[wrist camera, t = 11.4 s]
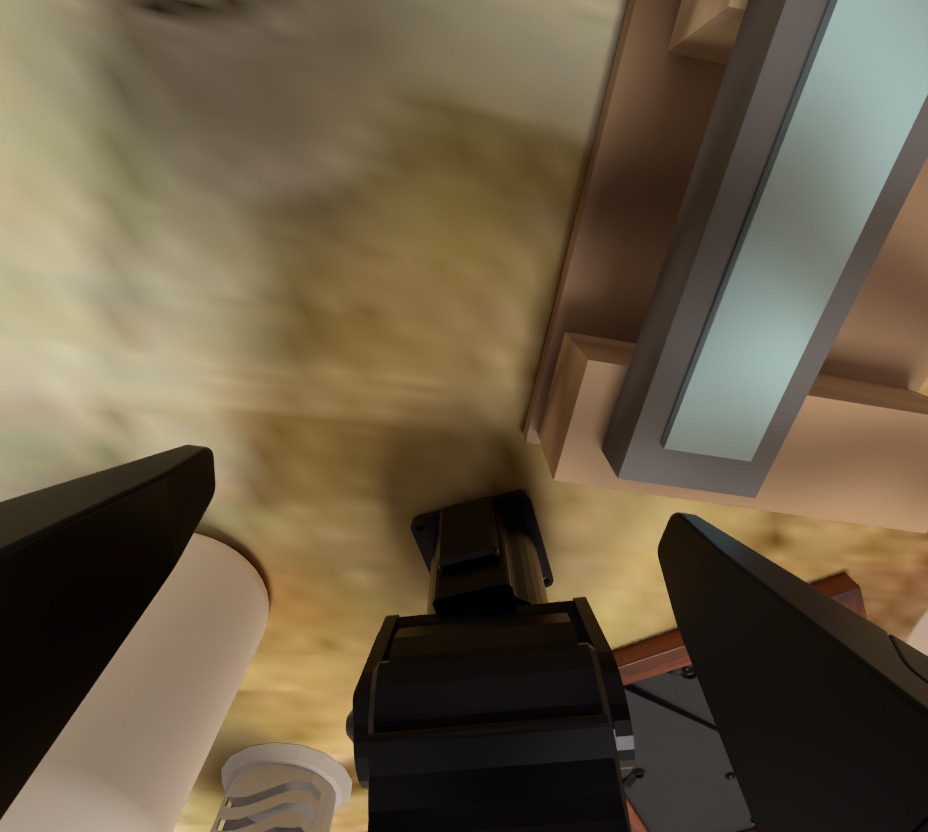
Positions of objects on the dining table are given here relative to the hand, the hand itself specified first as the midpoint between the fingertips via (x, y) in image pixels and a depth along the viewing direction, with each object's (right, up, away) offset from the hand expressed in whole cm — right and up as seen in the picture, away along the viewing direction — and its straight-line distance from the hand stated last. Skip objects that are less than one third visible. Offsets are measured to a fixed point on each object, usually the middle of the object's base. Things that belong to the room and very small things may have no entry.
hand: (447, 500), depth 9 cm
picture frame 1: (+9, +7, +6) cm, 13 cm away
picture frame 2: (+19, -21, +25) cm, 38 cm away
